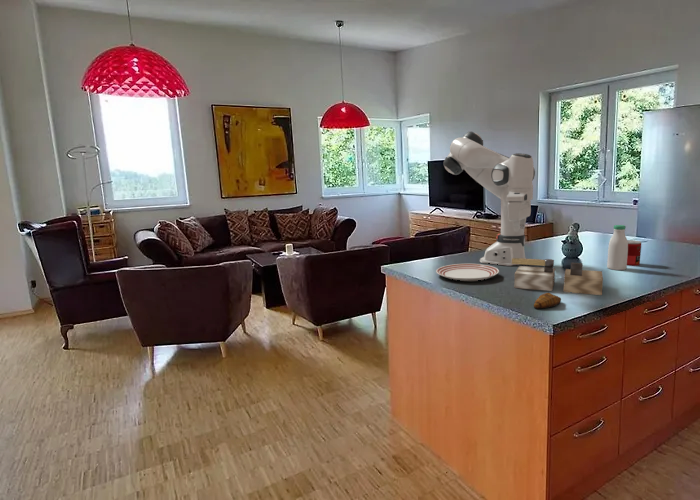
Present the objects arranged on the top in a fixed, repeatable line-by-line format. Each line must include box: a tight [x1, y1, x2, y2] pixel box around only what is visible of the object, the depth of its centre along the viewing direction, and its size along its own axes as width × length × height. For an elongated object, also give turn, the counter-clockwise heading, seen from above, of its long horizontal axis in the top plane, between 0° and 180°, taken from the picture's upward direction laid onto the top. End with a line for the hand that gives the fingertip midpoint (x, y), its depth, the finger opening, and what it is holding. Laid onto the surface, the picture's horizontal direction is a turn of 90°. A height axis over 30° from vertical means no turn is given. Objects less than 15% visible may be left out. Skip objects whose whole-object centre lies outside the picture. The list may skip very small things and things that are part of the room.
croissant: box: [533, 292, 562, 310], centre depth 159 cm, size 14×7×5 cm, turn 121°
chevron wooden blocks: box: [513, 262, 604, 296], centre depth 181 cm, size 31×14×11 cm, turn 63°
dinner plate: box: [435, 263, 500, 282], centre depth 204 cm, size 27×27×3 cm
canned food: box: [627, 239, 642, 267], centre depth 215 cm, size 8×8×11 cm
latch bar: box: [512, 258, 555, 268], centre depth 184 cm, size 16×4×2 cm, turn 63°
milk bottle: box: [606, 224, 628, 271], centre depth 206 cm, size 8×8×20 cm
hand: (519, 230), depth 181 cm, fingers open, 6 cm apart
